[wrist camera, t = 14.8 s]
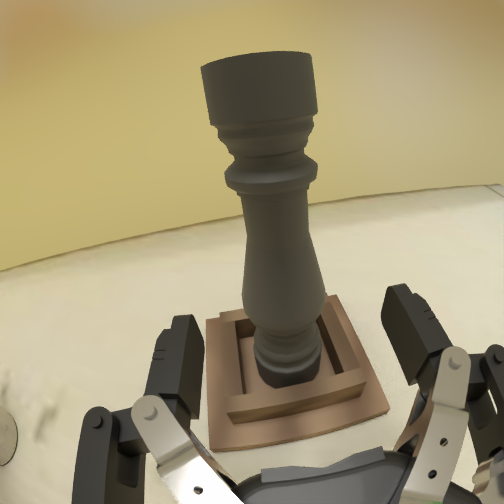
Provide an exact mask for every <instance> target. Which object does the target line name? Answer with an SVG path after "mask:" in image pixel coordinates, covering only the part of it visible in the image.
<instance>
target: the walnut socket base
mask: <svg viewBox="0 0 504 504" xmlns="http://www.w3.org/2000/svg"><path fill="white" fill-rule="evenodd" d="M315 322H316V323H317V326H318V328H319V331H320V338H321V341H322V349H321V359H320V367H319V372H318V374H317V375H316V377H315V378H314V380H313V381H310V382H306V383H302V384H297V385H293V386H288V387H283V388H278V389H274V388H273V387H271V386H269V385H267V384H265V382H264V381H263V380H262V378H261V377H260V375H259V373H258V369H257V364H256V360H255V356H254V349H253V345H254V333H255V330H256V326H255V325H254V324H253V322H252V321H251V320H250V319H249V317H248V316H247V315H246V313H245V311H244V309H238V310H233V311H227V312H221V313H220V317H219V318H213V319H206V373H207V405H208V427H209V445H210V450H211V451H213V452H223V451H234V450H243V449H251V448H258V447H265V446H271V445H277V444H282V443H287V442H292V441H297V440H302V439H306V438H310V437H314V436H318V435H322V434H326V433H329V432H333V431H336V430H340V429H343V428H346V427H349V426H352V425H355V424H358V423H361V422H364V421H367V420H370V419H372V418H375V417H378V416H380V415H383V414H385V413H387V412H388V411H389V409H390V406H389V404H388V401H387V399H386V397H385V394H384V392H383V390H382V388H381V385H380V383H379V381H378V379H377V377H376V374H375V372H374V370H373V368H372V366H371V364H370V361H369V359H368V357H367V355H366V353H365V351H364V349H363V347H362V345H361V342H360V340H359V338H358V336H357V334H356V332H355V330H354V328H353V326H352V324H351V322H350V320H349V318H348V316H347V314H346V312H345V310H344V308H343V306H342V304H341V302H340V301H339V299H338V297H337V295H331V296H328V295H327V293H326V292H325V301H324V308H323V310H322V312H321V314H320V315H319V317H318V318H317V319H316V321H315Z"/></svg>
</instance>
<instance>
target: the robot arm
mask: <svg viewBox="0 0 504 504" xmlns="http://www.w3.org/2000/svg"><path fill="white" fill-rule="evenodd" d="M381 321H382V325H383V327H384V329H385V331H386V333H387V336H388V338H389V340H390V342H391V345H392V347H393V349H394V351H395V354H396V356H397V358H398V361H399V363H400V365H401V368H402V370H403V373H404V375H405V377H406V380H407V382H408V385H409V386H410V385H413V384H416V383H418V385H419V389H418V391H417V395H416V398H415V401H414V404H413V407H412V410H411V413H410V416H409V419H408V422H407V424H406V427H405V429H404V431H403V433H402V434H401V436H400V437H399V439H398V441H397V443H396V445H395V447H394V449H393V451H383V448H382V446H380V447H377V448H374V449H371V450H367V451H364V452H360V453H356V454H353V455H351V456H349V457H347V458H345V459H343V460H341V461H339V462H337V463H335V464H333V465H330V466H328V467H325V468H312V467H297V466H288V467H279V468H269V469H261V474H257V475H255V476H252V477H250V478H248V479H246V480H244V481H242V482H241V483H239V484H237V483H236V481H235V480H234V479H233V478H232V477H231V476H230V475H229V474H228V473H227V472H226V471H225V470H224V469H223V468H222V467H221V466H220V465H219V464H218V463H217V462H216V461H215V459H214V458H213V457H212V456H211V455H210V454H209V452H208V451H207V450H206V449H205V447H204V446H203V445H202V444H201V442H200V441H199V440H198V439H197V437H196V436H195V435H194V433H193V432H192V431H191V429H190V420H191V419H199V413H200V399H201V386H202V374H203V363H204V352H205V347H204V340H203V337H202V334H201V332H200V330H199V327H198V325H197V323H196V320H195V318H194V316H193V315H192V314H190V315H178V316H174V317H173V320H172V325H171V329H164V330H163V331H162V333H161V334H160V335H159V337H158V338H157V341H156V345H155V349H154V351H155V352H154V353H153V357H152V359H153V360H152V362H151V366H150V370H149V375H148V380H147V384H146V389H145V393H144V395H143V397H141V398H140V399H138V400H137V401H136V402H135V403H134V405H133V407H131V408H128V409H123V410H119V411H114V412H110V411H109V410H107V409H106V408H104V407H94V408H92V409H90V410H89V411H88V412H87V413H86V415H85V416H84V419H83V424H82V429H81V434H80V439H79V445H78V451H77V458H76V465H75V472H74V481H73V491H72V504H144V483H145V461H146V453H149V452H151V454H152V455H153V457H154V459H155V460H156V462H157V465H158V466H157V471H158V473H159V475H160V477H161V478H162V480H163V481H164V483H165V484H166V486H167V487H168V488H169V490H170V491H171V493H172V494H173V495H174V497H175V498H176V499H177V501H178V502H179V503H180V504H504V347H502V346H500V345H497V344H494V345H491V346H490V347H488V349H487V350H486V352H485V353H482V354H468V353H467V352H466V351H465V350H464V349H462V348H460V347H456V346H453V345H452V343H451V341H450V340H449V338H448V336H447V334H446V333H445V331H444V329H443V328H442V326H441V324H440V323H439V321H438V319H437V318H436V316H435V314H434V313H433V311H431V308H430V307H429V305H428V303H427V302H426V300H425V299H423V298H422V297H421V296H419V295H418V294H417V293H414V294H412V292H411V291H410V289H409V288H408V286H407V285H406V284H404V283H403V284H398V285H393V286H389V287H388V288H387V290H386V294H385V298H384V302H383V306H382V310H381ZM489 389H490V392H491V394H492V397H493V399H494V402H495V404H496V407H497V414H496V411H495V409H494V406H493V403H492V401H491V398H490V395H489V393H488V390H489ZM467 424H468V428H469V431H470V434H471V438H472V441H473V445H474V449H475V453H476V457H477V461H478V468H477V470H476V473H475V474H474V475H473V477H472V482H473V483H474V484H475V486H474V489H473V492H470V491H468V490H466V489H464V488H462V487H460V486H459V485H457V484H455V483H453V482H452V481H451V478H452V475H453V473H454V470H455V467H456V464H457V461H458V458H459V454H460V451H461V448H462V444H463V440H464V436H465V432H466V428H467ZM16 441H17V430H16V425H15V422H14V420H13V418H12V416H11V415H10V414H9V413H7V412H6V411H5V410H4V409H3V408H1V407H0V465H4V464H6V463H7V462H8V461H9V460H10V459H11V457H12V455H13V453H14V451H15V447H16Z"/></svg>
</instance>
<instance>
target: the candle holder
mask: <svg viewBox="0 0 504 504" xmlns="http://www.w3.org/2000/svg"><path fill="white" fill-rule="evenodd" d="M201 73H202V79H203V85H204V91H205V96H206V102H207V108H208V113H209V119H210V124H211V125H213V126H215V127H216V128H217V129H218V138H219V139H220V141H221V142H223V143H224V144H225V145H226V146H227V148H228V151H229V153H230V154H232V155H233V156H234V158H235V161H234V162H233V163H232V164H231V165H230V166H229V167H228V168H227V170H226V171H225V180H226V184H227V186H228V187H229V188H231V189H233V190H235V191H236V192H237V195H238V196H240V197H241V202H242V208H243V214H244V220H245V226H246V232H247V243H246V255H245V266H244V277H243V288H242V300H243V307H244V311H245V313H246V315H247V316H248V317H249V319H250V320H251V321H252V322H253V324H254V325H255V326H256V330H255V333H254V345H253V349H254V356H255V360H256V364H257V369H258V373H259V375H260V377H261V378H262V380H263V381H264V382H265V384H267V385H269V386H271V387H273V388H274V389H278V388H283V387H288V386H293V385H297V384H302V383H306V382H310V381H313V380H314V378H315V377H316V375H317V374H318V372H319V367H320V359H321V349H322V341H321V338H320V331H319V328H318V326H317V323H316V322H315V321H316V319H317V318H318V317H319V315H320V314H321V312H322V310H323V308H324V301H325V287H324V283H323V279H322V276H321V272H320V269H319V265H318V261H317V258H316V254H315V250H314V247H313V243H312V240H311V237H310V233H309V222H308V202H307V190H308V189H309V184H310V183H311V182H312V181H314V180H315V179H316V176H317V170H318V165H317V163H316V162H315V161H314V160H312V159H311V158H309V157H308V156H307V155H305V154H304V147H306V145H307V142H308V136H309V134H310V133H311V131H312V129H313V127H314V122H313V116H314V115H315V114H317V112H318V109H317V98H316V89H315V80H314V73H313V65H312V57H311V55H310V54H308V53H303V52H294V51H272V52H259V53H250V54H244V55H238V56H233V57H228V58H224V59H220V60H217V61H213V62H210V63H208V64H206V65H204V66H202V67H201Z"/></svg>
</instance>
